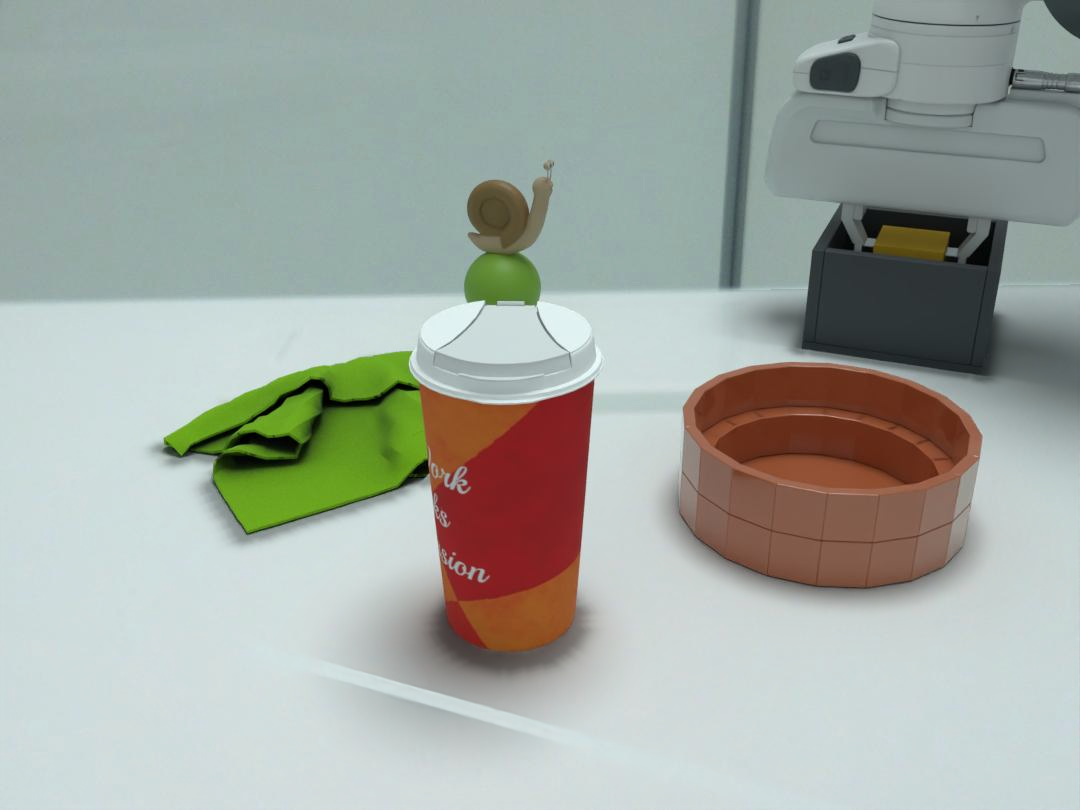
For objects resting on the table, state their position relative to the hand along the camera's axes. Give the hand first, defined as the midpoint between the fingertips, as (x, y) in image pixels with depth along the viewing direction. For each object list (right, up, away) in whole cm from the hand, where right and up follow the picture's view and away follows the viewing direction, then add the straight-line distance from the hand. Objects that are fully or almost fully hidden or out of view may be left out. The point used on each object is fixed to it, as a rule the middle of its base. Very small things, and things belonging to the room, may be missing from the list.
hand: (906, 271), depth 79 cm
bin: (0, -4, +2) cm, 5 cm away
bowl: (-11, -15, -20) cm, 27 cm away
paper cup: (-26, -19, -28) cm, 43 cm away
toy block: (0, -2, +1) cm, 2 cm away
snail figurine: (-27, -3, +4) cm, 28 cm away
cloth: (-36, -11, -11) cm, 40 cm away
